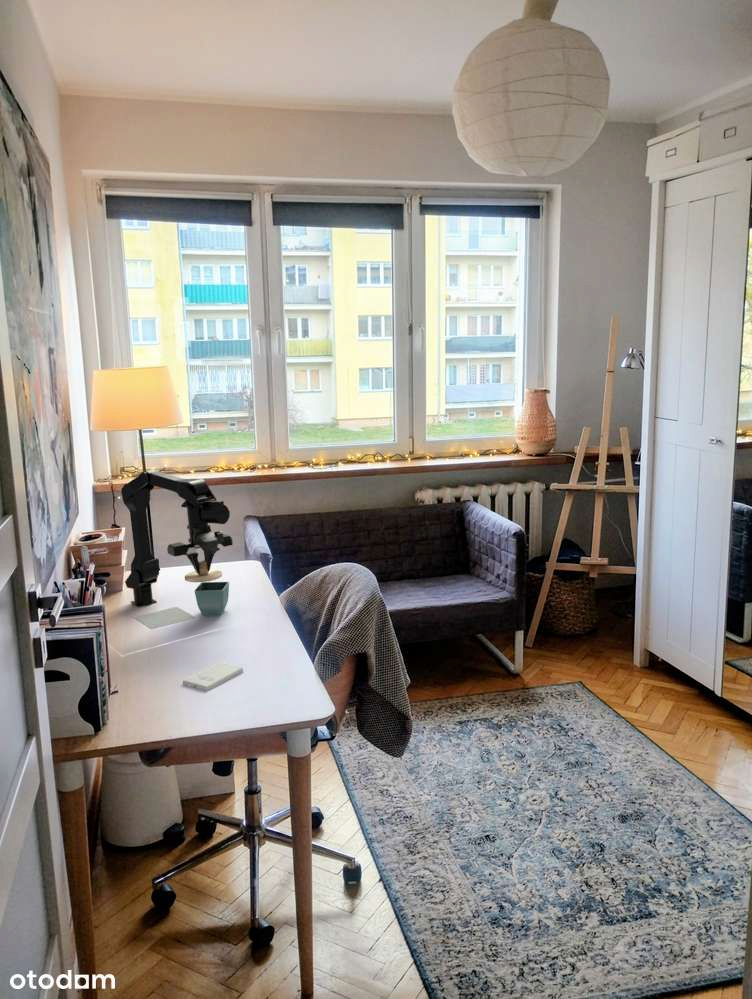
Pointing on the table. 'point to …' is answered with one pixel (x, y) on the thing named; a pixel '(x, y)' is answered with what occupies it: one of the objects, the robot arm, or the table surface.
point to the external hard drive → (213, 676)
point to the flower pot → (212, 597)
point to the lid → (203, 574)
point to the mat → (164, 617)
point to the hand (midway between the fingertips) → (203, 572)
